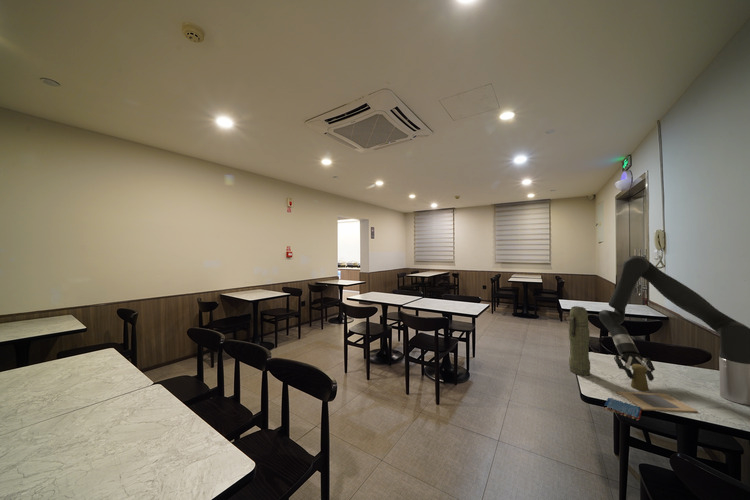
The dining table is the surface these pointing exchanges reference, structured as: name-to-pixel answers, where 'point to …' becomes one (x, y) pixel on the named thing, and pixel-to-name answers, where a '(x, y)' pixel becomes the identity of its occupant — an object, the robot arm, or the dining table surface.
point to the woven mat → (623, 408)
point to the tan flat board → (656, 402)
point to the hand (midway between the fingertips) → (641, 379)
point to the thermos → (579, 341)
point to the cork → (639, 377)
